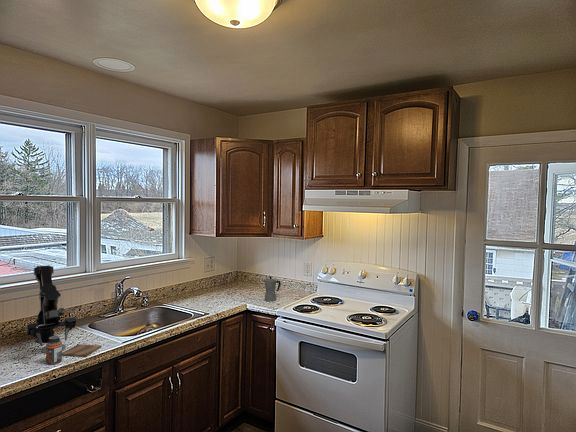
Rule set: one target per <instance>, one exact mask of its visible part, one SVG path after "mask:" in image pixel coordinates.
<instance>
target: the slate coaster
mask: <svg viewBox="0 0 576 432" xmlns="http://www.w3.org/2000/svg"><path fill="white" fill-rule="evenodd" d="M65 349H66V344H64V343H62V351H64V350H65ZM40 352H41V353H43V354H46V345H45V346H43V347H42V348H41V349H40Z"/></svg>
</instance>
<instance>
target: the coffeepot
mask: <svg viewBox="0 0 576 432" xmlns="http://www.w3.org/2000/svg"><path fill="white" fill-rule="evenodd" d="M262 281H263V282H264V287H265V293H264V301H265V302H268V303H271V302H275V301H277V295H276V292H279V291H280V289H281V284H282V283H281V281H280V280H278V279H274V278H273V277H272V276H269V278H266V279H262ZM277 284H278V285H277ZM276 286H277V289H276Z"/></svg>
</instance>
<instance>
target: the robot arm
mask: <svg viewBox="0 0 576 432" xmlns="http://www.w3.org/2000/svg"><path fill="white" fill-rule="evenodd" d="M53 274H54V266H53V265H52V266H51V265H50V264H49V265H37V266H36V267H34V268H33V276H35V281H37V283H38V284H39V285H38V286H39V293H38V300H39V303H40V304H39V306H40V308H39V309H40V310H39V313H38V314H37V316H36V317H37V318H36V319H35V322H32V323H31V322H30V323H28V324H27V325H26V336H30V337H33V338H34V339H35V341H34V342H35V343H39V345H40V346H42V345H43V343H44V344H45V343H46V344H47V343H48V342H49V337H52V336H55V331H54V329H56V328H59V327H64V342H66V341H67V340H68V335H69V332H70V331H71V330H73V329H74V328H76V325H77V319H76V317H75V316H72V317H65V320H64V321H61V317H62V316H64V315H65V309H64V307H59V308H58V303H59V299H60V297H61V294H62V293H60V292H59V290H58V289H57V286H56V285H55V284H53V278H52V277H53Z"/></svg>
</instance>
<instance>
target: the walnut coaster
mask: <svg viewBox="0 0 576 432" xmlns="http://www.w3.org/2000/svg"><path fill="white" fill-rule="evenodd" d="M101 348H102V345H100V344H75V345H74V346H72V347H71V348H69V349H66V350H65V351H62V357H74V358H75V357H76V358H86V357H88V356H89V355H92V354H93V353H94V352H96V351H97V350H100V349H101Z"/></svg>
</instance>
